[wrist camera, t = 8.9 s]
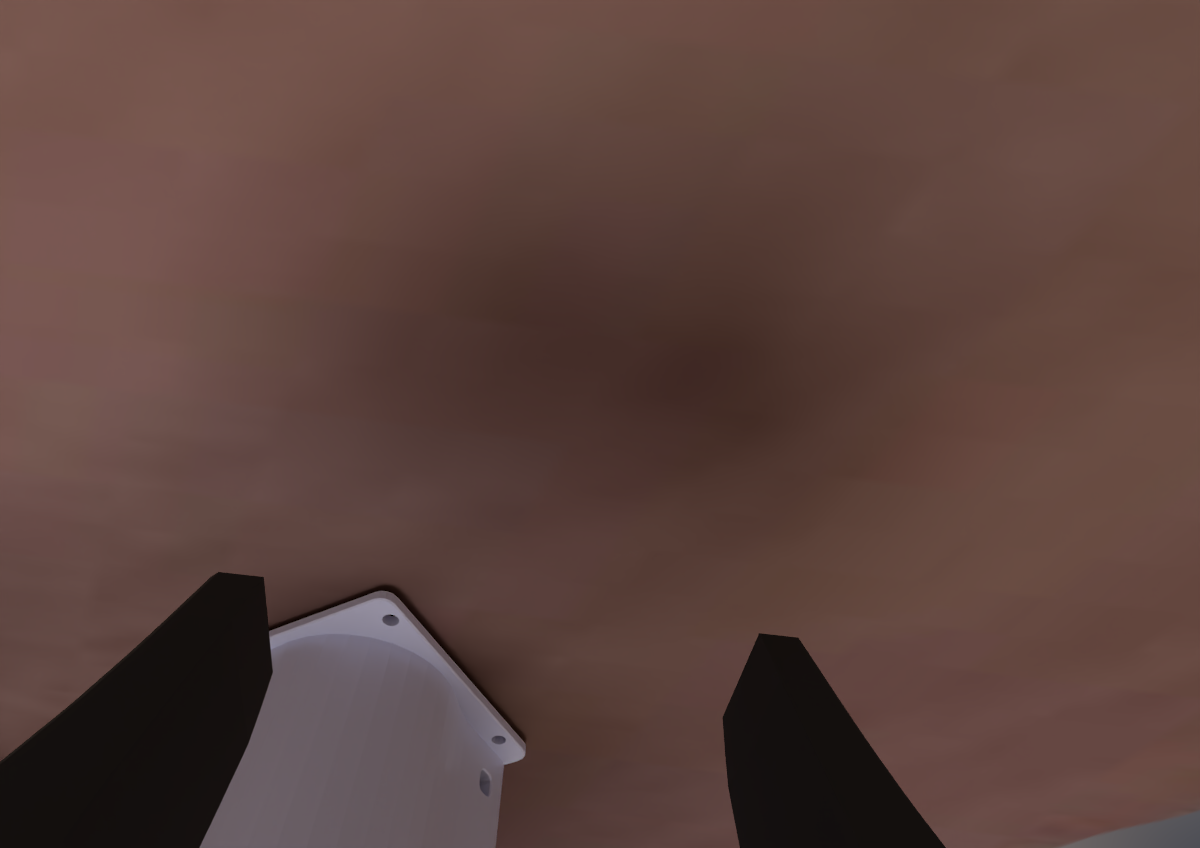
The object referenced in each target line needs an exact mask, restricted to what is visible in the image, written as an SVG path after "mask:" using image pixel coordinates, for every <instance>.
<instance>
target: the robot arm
mask: <svg viewBox="0 0 1200 848" xmlns="http://www.w3.org/2000/svg"><path fill="white" fill-rule="evenodd" d="M390 615H395V617H394V616H390ZM723 728H724V742H725V756H726V766H727V777H728V787H729V793H730V798H731V803H732V809H733V814H734V819H735V824H736V829H737V834H738V840H739V845H740V848H946V847H945V846H944V845H943V844H942V842H941V841H940V840H939V838H938V837H937V836H936V834H935V833H934V832H933V831H932V829H931V828H930V827H929V825H928V824H927V823H926V822H925V820H924V819H923V818H922V816H921V815H920V814H919V812H918V811H917V810H916V808H915V807H914V806H913V804H912V803H911V802H910V800H909V799H908V798H907V796H906V795H905V794H904V792H903V791H902V789H901V788H900V787H899V785H898V784H897V782H896V781H895V780H894V778H893V777H892V775H891V774H890V773H889V771H888V770H887V768H886V767H885V766H884V764H883V763H882V761H881V760H880V759H879V757H878V756H877V754H876V753H875V751H874V750H873V749H872V747H871V746H870V744H869V743H868V741H867V740H866V739H865V737H864V736H863V734H862V733H861V731H860V730H859V728H858V727H857V725H856V724H855V722H854V721H853V719H852V718H851V716H850V715H849V713H848V712H847V710H846V709H845V708H844V706H843V705H842V703H841V702H840V700H839V699H838V697H837V695H836V694H835V692H834V691H833V689H832V688H831V686H830V685H829V683H828V682H827V680H826V679H825V677H824V676H823V674H822V673H821V671H820V670H819V668H818V667H817V665H816V664H815V662H814V661H813V659H812V658H811V656H810V655H809V653H808V652H807V650H806V649H805V647H804V646H803V644H802V643H801V641H800V640H799V638H795V637H786V636H778V635H769V634H760V633H759V635H758V638H757V640H756V642H755V645H754V647H753V649H752V651H751V654H750V656H749V658H748V661H747V663H746V665H745V667H744V670H743V672H742V674H741V677H740V679H739V681H738V684H737V686H736V688H735V690H734V693H733V695H732V697H731V700H730V702H729V704H728V706H727V709H726V711H725V713H724V716H723ZM525 752H526V745H525V743H524V741H523V740H522V739H521V738H520V737H519V736H518V735H517V733H516V732H515V731H514V730H513V729H512V728H511V727H510V725H509V724H508V723H507V722H506V721H505V720H504V718H503V717H502V716H501V715H500V714H499V713H498V712H497V710H496V709H495V708H494V707H493V706H492V705H491V704H490V702H489V701H488V700H487V699H486V698H485V697H484V696H483V694H482V693H481V692H480V691H479V690H478V689H477V688H476V686H475V685H474V684H473V683H472V682H471V681H470V680H469V678H468V677H467V676H466V675H465V674H464V673H463V672H462V670H461V669H460V668H459V667H458V666H457V665H456V663H455V662H454V661H453V660H452V659H451V658H450V657H449V655H448V654H447V653H446V652H445V651H444V650H443V649H442V647H441V646H440V645H439V644H438V643H437V642H436V641H435V639H434V638H433V637H432V636H431V635H430V634H429V633H428V631H427V630H426V629H425V628H424V627H423V626H422V625H421V623H420V622H419V621H418V620H417V619H416V618H415V617H414V615H413V614H412V613H411V612H410V611H409V610H408V609H407V607H406V606H405V605H404V604H403V603H402V602H401V600H400V599H399V598H398V597H397V596H396V595H394V594H393V593H391V592H388V591H377V592H374V593H371V594H368V595H365V596H363V597H360V598H357V599H355V600H352V601H349V602H346V603H344V604H341V605H338V606H336V607H333V608H330V609H327V610H325V611H322V612H319V613H317V614H314V615H311V616H308V617H306V618H303V619H300V620H298V621H295V622H292V623H289V624H287V625H284V626H281V627H279V628H276V629H273V630H270V631H269V627H268V617H267V606H266V596H265V586H264V577H257V576H248V575H240V574H231V573H222V572H218V573H216V574H215V575H213V576H212V577H210V578H209V579H208V580H207V581H206V582H205V583H204V584H203V585H202V586H201V587H200V588H199V589H198V590H197V591H196V592H195V593H194V594H192V595H191V596H190V597H189V598H188V599H187V600H186V601H185V602H184V603H183V604H182V605H181V606H180V607H179V608H178V609H177V610H176V611H175V612H173V613H172V614H171V615H170V616H169V617H168V618H167V619H166V620H165V621H164V622H163V623H162V624H161V625H160V626H158V627H157V628H156V629H155V630H154V631H153V632H152V633H151V634H150V635H149V636H148V637H146V638H145V639H144V640H143V641H142V642H141V643H140V644H139V645H138V646H137V647H136V648H134V649H133V650H132V651H131V652H130V653H129V654H128V655H127V656H126V657H124V658H123V659H122V660H121V661H120V662H119V663H118V664H116V665H115V666H114V667H113V668H112V669H111V670H110V671H108V672H107V673H106V674H105V675H104V676H103V677H102V678H100V679H99V680H98V681H97V682H96V683H95V684H94V685H92V686H91V687H90V688H89V689H88V690H87V691H86V692H84V693H83V694H82V695H81V696H80V697H79V698H78V699H76V700H75V701H74V702H73V703H72V704H71V705H69V706H68V707H67V708H66V709H65V710H63V711H62V712H61V713H60V714H59V715H57V716H56V717H55V718H54V719H52V720H51V721H50V722H49V723H47V724H46V725H45V726H44V727H42V728H41V729H40V730H39V731H38V732H36V733H35V734H34V735H33V736H31V737H30V738H29V739H28V740H26V741H25V742H24V743H23V744H22V745H20V746H19V747H18V748H17V749H15V750H14V751H13V752H12V753H10V754H9V755H8V756H7V757H5V758H4V759H3V760H2V761H1V762H0V848H496V839H497V829H498V820H499V810H500V800H501V790H502V780H503V770H504V765H506V764H509V763H513V762H516V761H519V760H521V759H523V757H524V756H525Z"/></svg>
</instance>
